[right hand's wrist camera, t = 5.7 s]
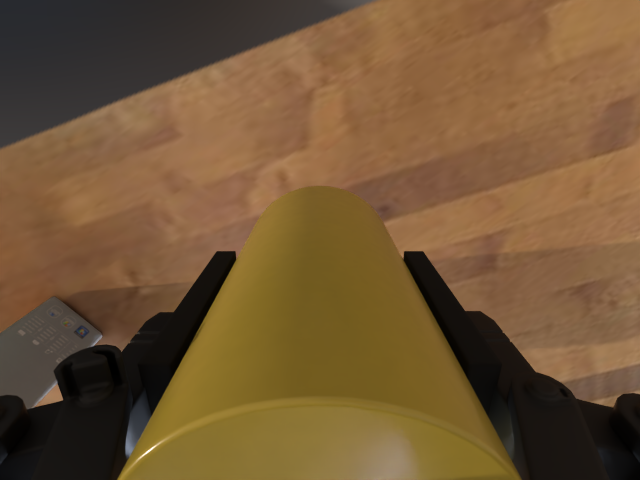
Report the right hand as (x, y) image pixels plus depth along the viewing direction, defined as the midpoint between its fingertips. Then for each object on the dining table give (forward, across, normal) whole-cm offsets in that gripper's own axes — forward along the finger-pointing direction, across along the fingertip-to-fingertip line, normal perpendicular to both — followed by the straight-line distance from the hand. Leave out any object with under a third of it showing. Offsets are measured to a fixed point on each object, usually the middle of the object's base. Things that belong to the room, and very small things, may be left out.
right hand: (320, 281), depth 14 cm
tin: (+3, 0, 0) cm, 3 cm away
